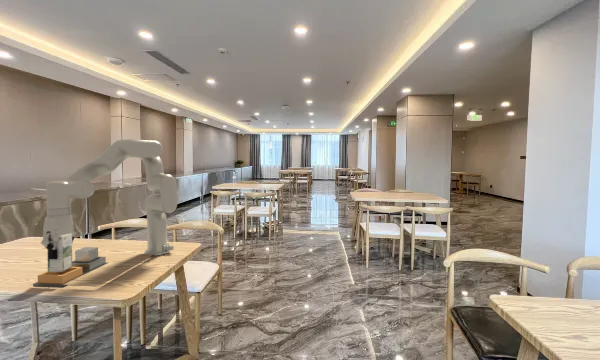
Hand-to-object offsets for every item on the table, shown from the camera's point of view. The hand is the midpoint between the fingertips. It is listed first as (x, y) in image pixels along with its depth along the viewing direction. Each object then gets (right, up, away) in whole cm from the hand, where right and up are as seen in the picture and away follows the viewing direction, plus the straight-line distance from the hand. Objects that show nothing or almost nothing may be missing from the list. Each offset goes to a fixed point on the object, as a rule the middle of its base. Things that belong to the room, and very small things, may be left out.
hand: (60, 256), depth 121 cm
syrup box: (0, -6, 0) cm, 6 cm away
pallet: (0, -10, +8) cm, 12 cm away
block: (+1, -8, +14) cm, 17 cm away
